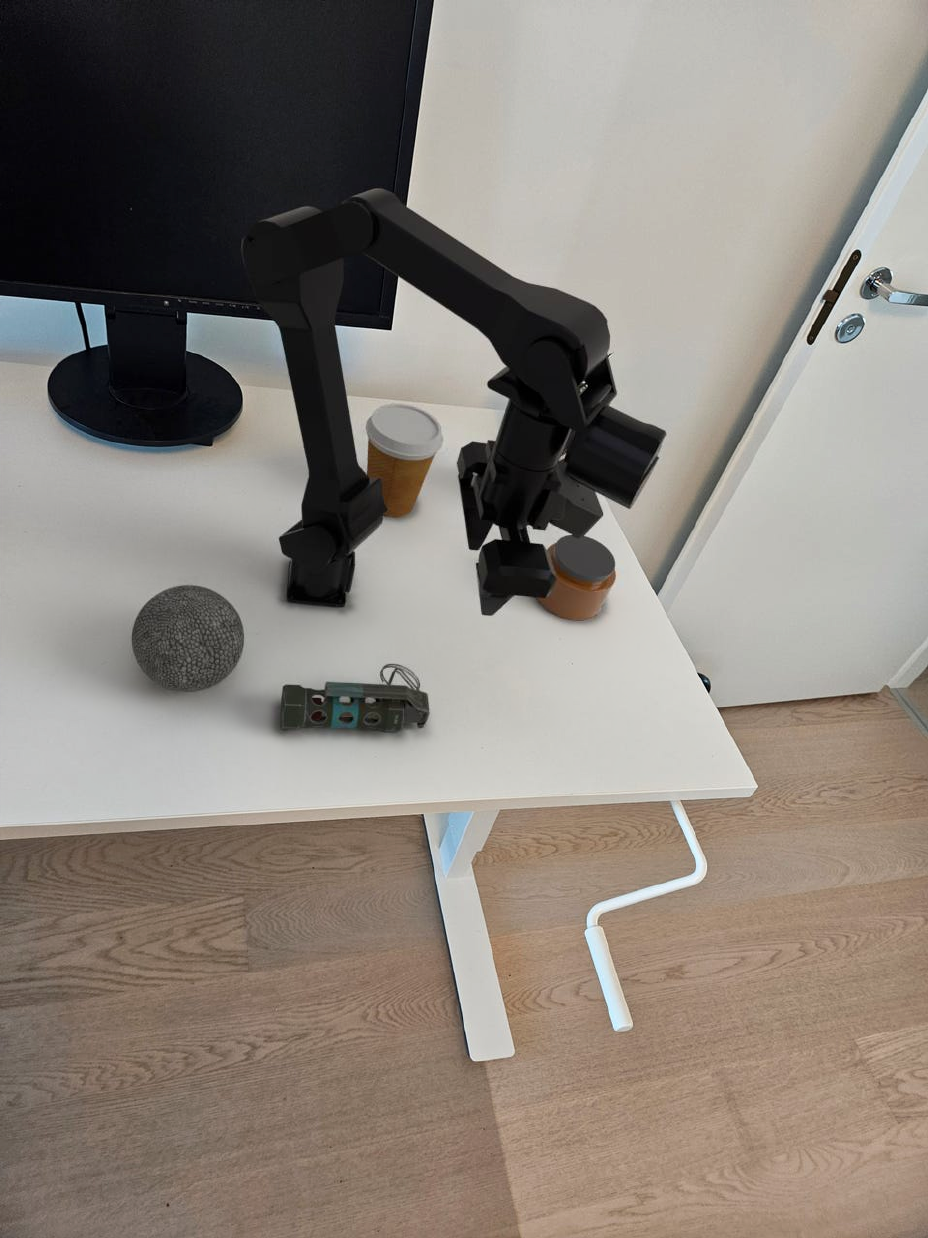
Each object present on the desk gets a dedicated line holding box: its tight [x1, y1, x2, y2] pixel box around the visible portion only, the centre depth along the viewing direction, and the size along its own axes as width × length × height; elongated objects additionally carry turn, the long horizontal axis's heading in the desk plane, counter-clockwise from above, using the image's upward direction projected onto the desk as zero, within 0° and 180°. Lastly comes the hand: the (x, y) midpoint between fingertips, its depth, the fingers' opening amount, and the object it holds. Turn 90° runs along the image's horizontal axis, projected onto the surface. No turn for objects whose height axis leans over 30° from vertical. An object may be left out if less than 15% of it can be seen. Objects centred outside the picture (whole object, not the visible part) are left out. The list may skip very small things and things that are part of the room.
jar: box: [536, 534, 617, 621], centre depth 99 cm, size 9×9×7 cm
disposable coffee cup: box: [365, 403, 444, 518], centre depth 101 cm, size 10×10×12 cm
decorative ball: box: [131, 584, 245, 693], centre depth 76 cm, size 10×10×10 cm
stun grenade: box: [279, 663, 431, 733], centre depth 78 cm, size 6×6×14 cm
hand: (479, 580), depth 80 cm, fingers open, 9 cm apart
